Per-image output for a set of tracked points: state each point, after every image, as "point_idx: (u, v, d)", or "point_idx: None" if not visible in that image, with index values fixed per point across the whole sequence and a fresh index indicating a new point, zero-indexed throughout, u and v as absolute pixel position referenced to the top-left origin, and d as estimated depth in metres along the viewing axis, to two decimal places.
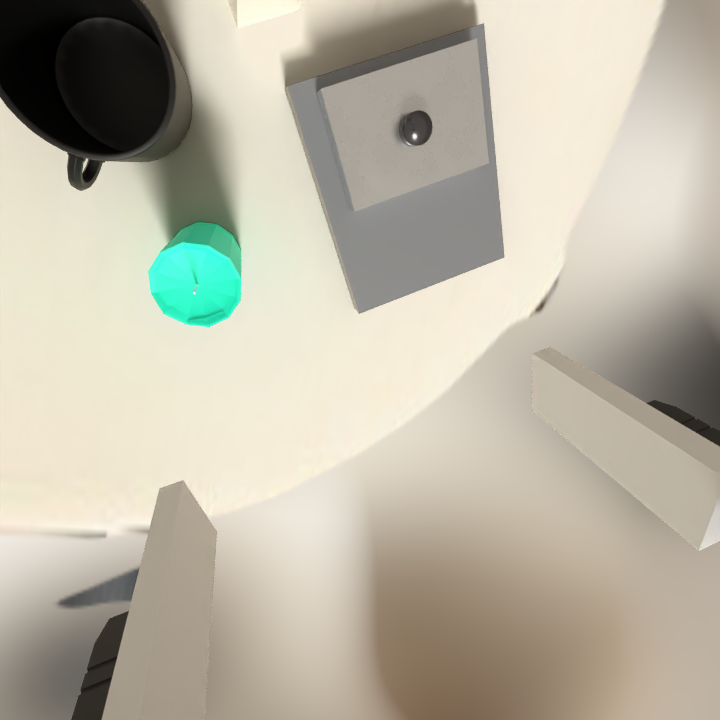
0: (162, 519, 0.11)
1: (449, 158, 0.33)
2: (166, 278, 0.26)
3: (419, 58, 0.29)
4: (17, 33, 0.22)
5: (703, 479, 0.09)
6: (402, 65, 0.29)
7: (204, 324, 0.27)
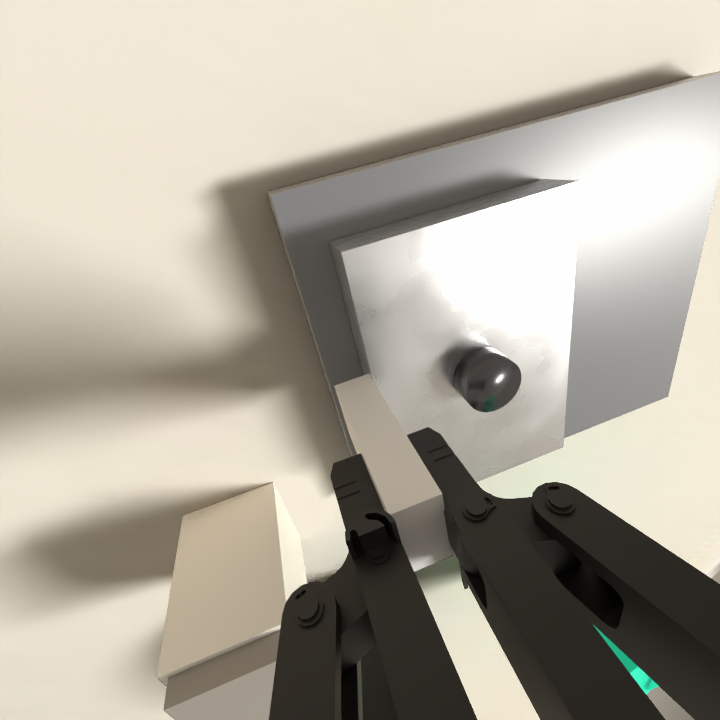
0: (350, 401, 0.14)
1: (542, 290, 0.15)
2: None
3: (374, 376, 0.15)
4: None
5: None
6: None
7: None
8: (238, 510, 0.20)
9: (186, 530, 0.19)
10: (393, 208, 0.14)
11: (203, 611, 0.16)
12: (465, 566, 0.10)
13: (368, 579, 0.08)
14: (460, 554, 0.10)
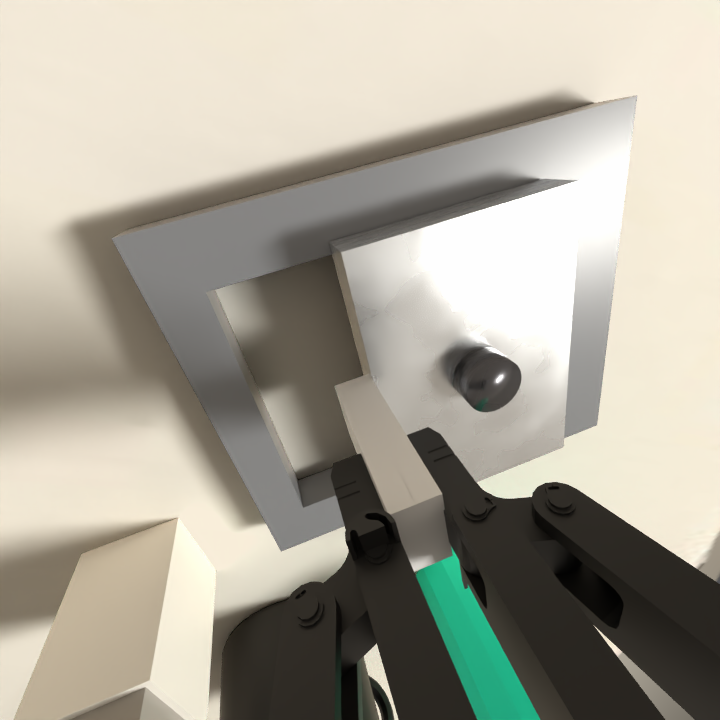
0: (350, 401, 0.14)
1: (543, 290, 0.15)
2: None
3: (374, 376, 0.15)
4: None
5: None
6: None
7: None
8: (136, 549, 0.19)
9: (80, 570, 0.19)
10: (256, 248, 0.14)
11: (71, 665, 0.15)
12: (465, 566, 0.10)
13: (368, 579, 0.08)
14: (460, 554, 0.10)
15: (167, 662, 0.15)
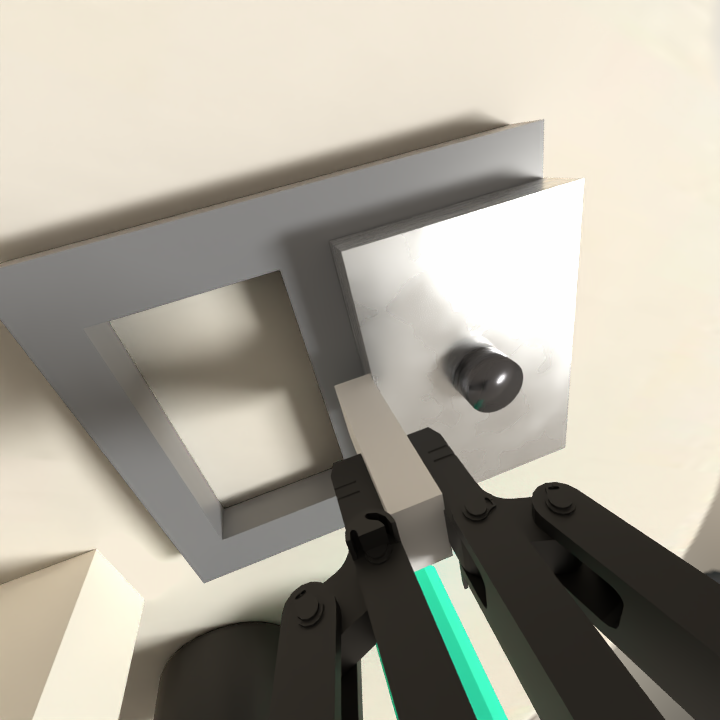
0: (350, 401, 0.14)
1: (544, 289, 0.15)
2: None
3: (374, 376, 0.15)
4: None
5: None
6: None
7: None
8: (48, 583, 0.18)
9: None
10: (134, 283, 0.13)
11: None
12: (465, 566, 0.10)
13: (368, 579, 0.08)
14: (460, 554, 0.10)
15: (56, 711, 0.15)
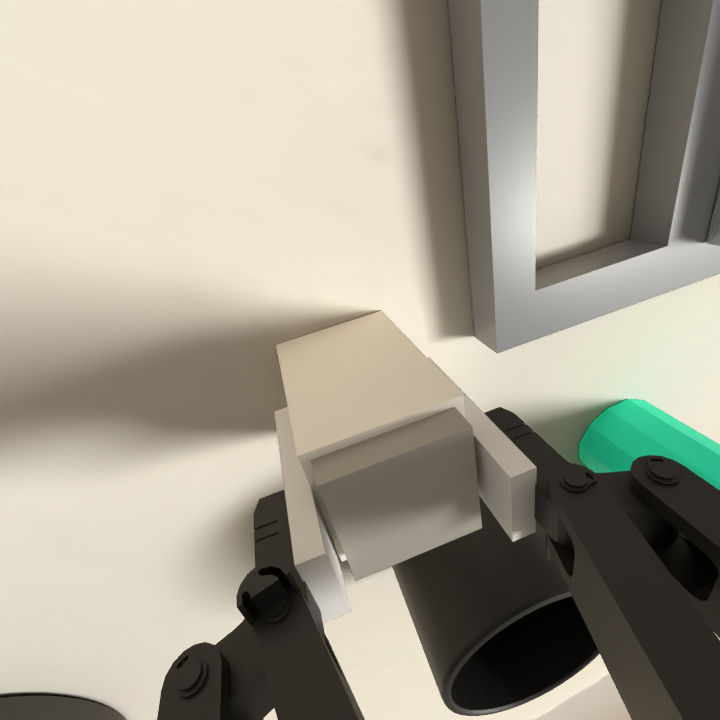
0: (285, 430, 0.13)
1: None
2: None
3: None
4: None
5: (502, 478, 0.10)
6: None
7: None
8: (347, 332, 0.16)
9: (285, 353, 0.16)
10: None
11: (339, 401, 0.12)
12: (552, 536, 0.10)
13: (266, 643, 0.08)
14: (549, 523, 0.10)
15: None
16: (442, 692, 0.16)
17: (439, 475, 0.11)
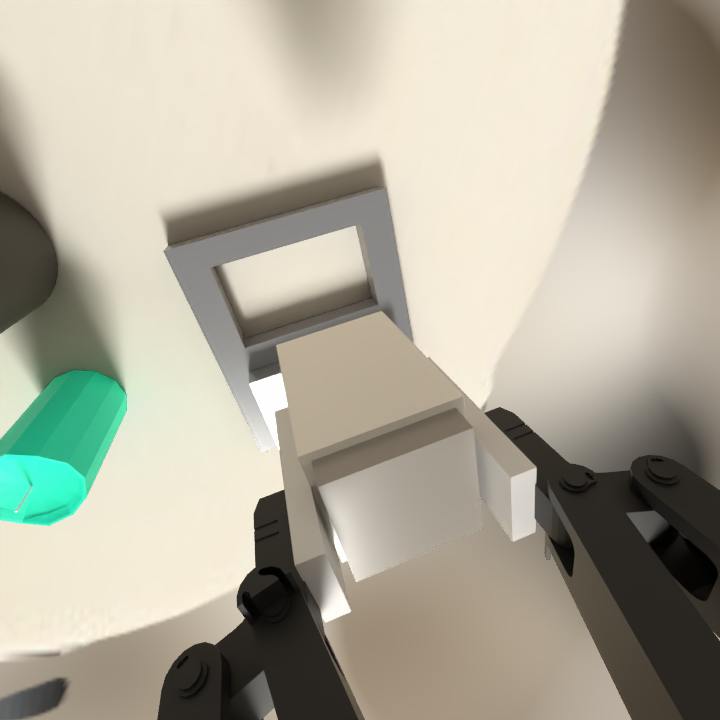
0: (286, 430, 0.13)
1: None
2: None
3: None
4: None
5: (502, 478, 0.10)
6: None
7: (43, 523, 0.25)
8: (347, 333, 0.16)
9: (286, 353, 0.16)
10: (378, 247, 0.31)
11: (339, 402, 0.12)
12: (552, 536, 0.10)
13: (267, 642, 0.08)
14: (549, 523, 0.10)
15: None
16: None
17: (440, 476, 0.11)
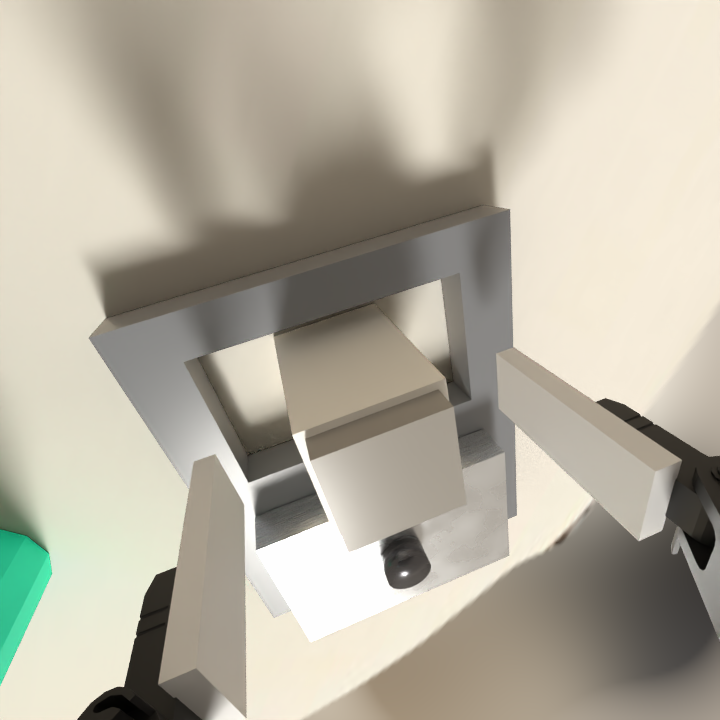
0: (199, 487, 0.12)
1: (453, 565, 0.23)
2: None
3: None
4: None
5: (638, 472, 0.09)
6: None
7: None
8: (341, 324, 0.17)
9: (282, 344, 0.17)
10: (483, 312, 0.18)
11: (331, 387, 0.13)
12: (687, 528, 0.09)
13: None
14: (686, 514, 0.09)
15: None
16: None
17: (424, 452, 0.12)
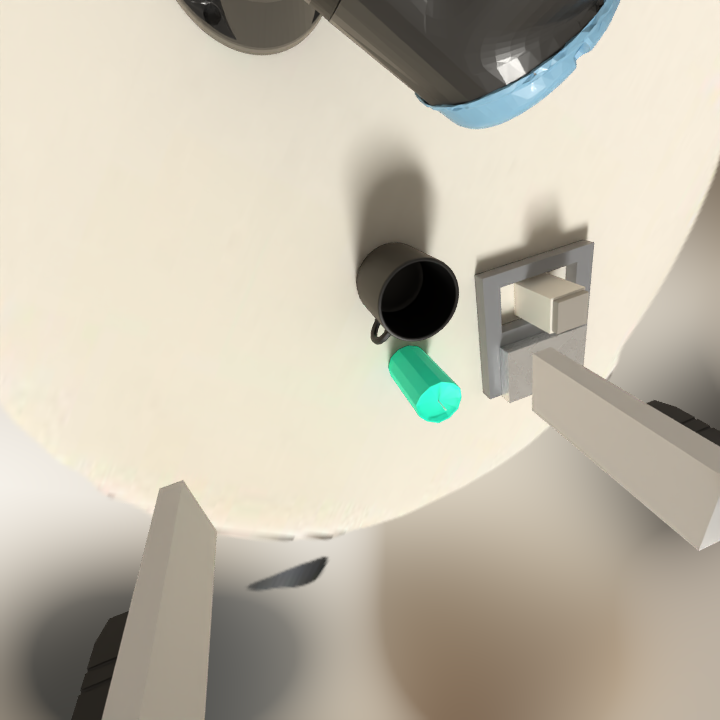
0: (162, 519, 0.11)
1: None
2: (425, 398, 0.46)
3: (557, 336, 0.55)
4: None
5: (703, 479, 0.09)
6: (548, 339, 0.55)
7: (436, 421, 0.47)
8: (538, 278, 0.53)
9: (520, 284, 0.53)
10: (582, 275, 0.54)
11: (552, 291, 0.49)
12: None
13: None
14: None
15: None
16: (419, 257, 0.39)
17: (580, 304, 0.48)
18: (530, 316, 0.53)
